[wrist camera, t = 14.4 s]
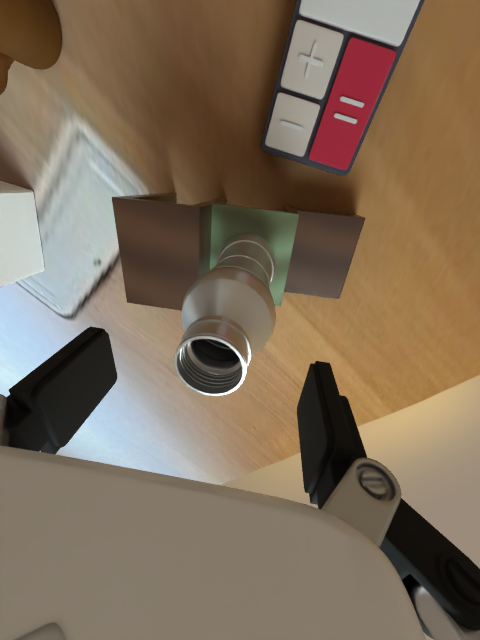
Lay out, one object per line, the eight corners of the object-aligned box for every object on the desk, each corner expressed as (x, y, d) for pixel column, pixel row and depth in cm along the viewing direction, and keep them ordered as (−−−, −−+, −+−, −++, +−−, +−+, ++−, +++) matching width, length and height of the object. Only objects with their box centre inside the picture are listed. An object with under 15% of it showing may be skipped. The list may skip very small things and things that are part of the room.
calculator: (258, 148, 28) (312, -68, 20) (261, 150, 32) (307, -32, 24) (349, 177, 28) (438, -25, 20) (341, 176, 32) (414, 4, 24)
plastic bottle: (280, 231, 27) (288, 313, 10) (272, 288, 31) (267, 424, 13) (223, 226, 28) (135, 295, 10) (221, 282, 31) (152, 406, 14)
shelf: (168, 193, 35) (111, 197, 23) (356, 214, 33) (402, 231, 21) (171, 267, 41) (126, 302, 28) (333, 289, 39) (359, 336, 27)
